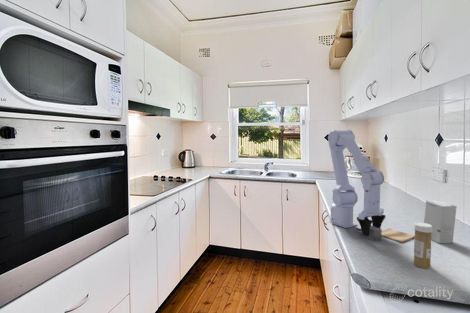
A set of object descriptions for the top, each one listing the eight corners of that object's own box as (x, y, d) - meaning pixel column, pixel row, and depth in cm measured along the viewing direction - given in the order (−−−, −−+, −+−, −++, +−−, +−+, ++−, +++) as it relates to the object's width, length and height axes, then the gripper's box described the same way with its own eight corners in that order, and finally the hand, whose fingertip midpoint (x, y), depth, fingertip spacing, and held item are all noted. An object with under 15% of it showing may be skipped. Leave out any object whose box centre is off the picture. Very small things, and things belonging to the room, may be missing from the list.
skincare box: (422, 235, 106) (423, 200, 105) (435, 235, 106) (437, 199, 105) (440, 244, 97) (442, 205, 96) (455, 243, 98) (457, 205, 97)
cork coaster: (376, 234, 108) (376, 233, 108) (389, 229, 113) (389, 228, 113) (402, 243, 99) (402, 241, 99) (414, 237, 104) (414, 235, 104)
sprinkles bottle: (433, 269, 80) (435, 227, 78) (417, 268, 80) (419, 226, 79) (425, 262, 84) (427, 222, 83) (410, 261, 85) (411, 221, 84)
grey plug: (353, 233, 110) (353, 223, 110) (359, 231, 112) (359, 222, 112) (377, 241, 101) (378, 231, 101) (383, 239, 103) (383, 229, 103)
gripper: (371, 205, 97) (370, 240, 98) (391, 200, 105) (390, 232, 106) (353, 201, 103) (353, 234, 104) (374, 196, 111) (373, 227, 112)
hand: (370, 233), depth 105 cm, fingers open, 7 cm apart
